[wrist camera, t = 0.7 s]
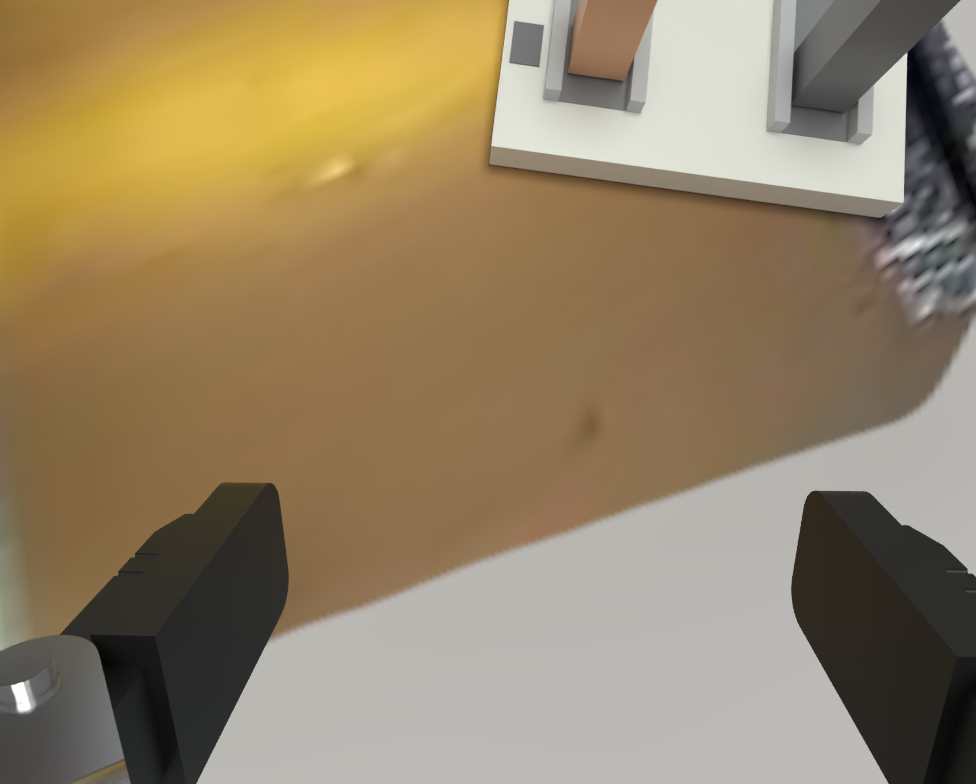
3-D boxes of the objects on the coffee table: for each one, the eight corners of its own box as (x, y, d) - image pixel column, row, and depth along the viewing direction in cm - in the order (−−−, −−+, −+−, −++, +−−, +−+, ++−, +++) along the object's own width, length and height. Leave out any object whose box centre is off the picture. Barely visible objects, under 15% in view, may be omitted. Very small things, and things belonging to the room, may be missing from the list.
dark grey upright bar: (848, 116, 37) (989, -18, 28) (786, 107, 37) (905, -31, 28) (851, 58, 38) (989, -93, 28) (789, 50, 38) (907, -106, 28)
